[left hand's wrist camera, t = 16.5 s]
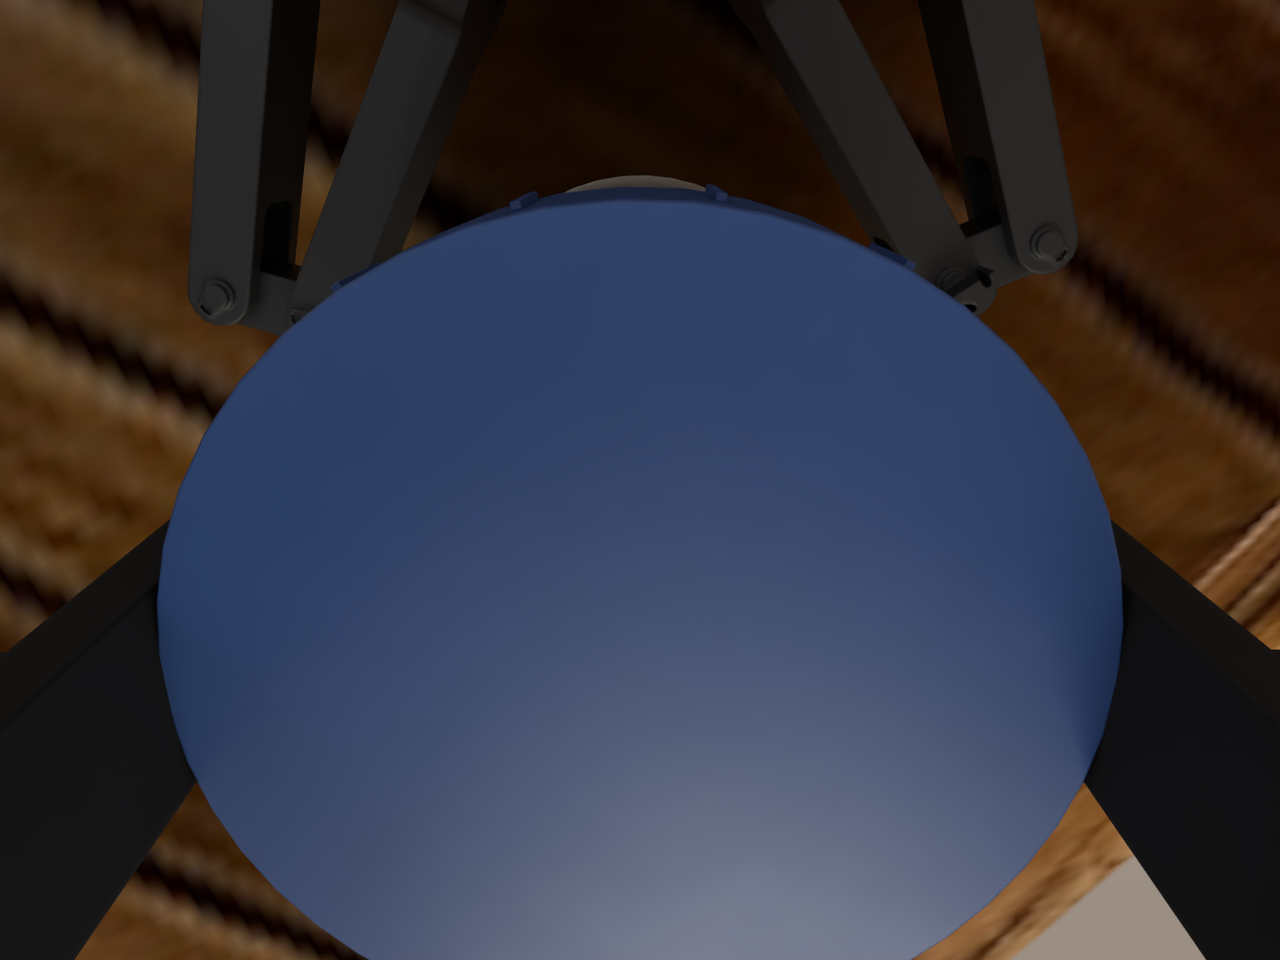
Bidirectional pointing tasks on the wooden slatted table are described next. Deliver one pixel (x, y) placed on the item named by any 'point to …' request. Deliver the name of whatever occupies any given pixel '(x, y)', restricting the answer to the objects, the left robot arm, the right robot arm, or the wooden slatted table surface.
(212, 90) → the right robot arm
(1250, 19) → the wooden slatted table surface
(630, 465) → the lid
